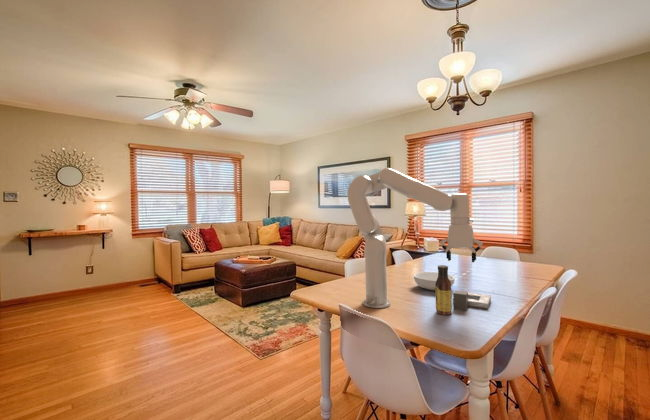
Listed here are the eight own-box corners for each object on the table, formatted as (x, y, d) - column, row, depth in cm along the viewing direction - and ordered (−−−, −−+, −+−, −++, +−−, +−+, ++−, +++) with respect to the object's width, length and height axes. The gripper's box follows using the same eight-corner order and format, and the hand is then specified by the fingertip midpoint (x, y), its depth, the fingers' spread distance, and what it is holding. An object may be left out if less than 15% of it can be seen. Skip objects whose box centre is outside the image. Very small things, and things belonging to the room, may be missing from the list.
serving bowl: (448, 296, 152) (448, 282, 152) (407, 290, 164) (407, 277, 164) (459, 287, 168) (459, 274, 168) (421, 282, 181) (421, 270, 181)
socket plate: (487, 309, 132) (487, 302, 132) (452, 304, 139) (452, 297, 139) (490, 300, 143) (490, 294, 143) (458, 296, 151) (458, 290, 151)
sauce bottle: (438, 309, 133) (438, 263, 132) (453, 312, 129) (453, 265, 129) (433, 313, 128) (432, 266, 127) (448, 317, 124) (448, 267, 123)
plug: (466, 311, 130) (465, 294, 130) (453, 309, 133) (453, 293, 133) (468, 307, 135) (467, 291, 134) (455, 305, 137) (455, 290, 137)
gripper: (483, 221, 132) (484, 261, 132) (441, 221, 141) (442, 258, 141) (481, 222, 125) (482, 264, 126) (437, 222, 135) (438, 261, 135)
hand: (461, 261), depth 133 cm, fingers open, 9 cm apart
